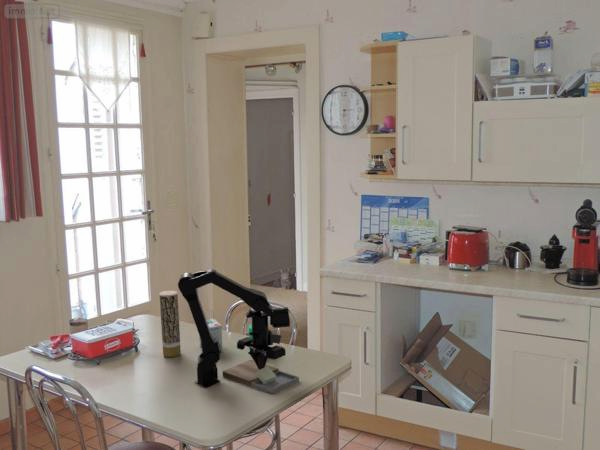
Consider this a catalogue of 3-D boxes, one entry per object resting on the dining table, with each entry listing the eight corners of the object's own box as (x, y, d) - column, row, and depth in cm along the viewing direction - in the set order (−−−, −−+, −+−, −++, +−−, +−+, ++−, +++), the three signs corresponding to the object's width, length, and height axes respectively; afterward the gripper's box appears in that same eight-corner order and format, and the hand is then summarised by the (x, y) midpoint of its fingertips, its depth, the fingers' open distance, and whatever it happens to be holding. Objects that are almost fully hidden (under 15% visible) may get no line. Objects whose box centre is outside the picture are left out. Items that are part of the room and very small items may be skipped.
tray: (271, 394, 207) (271, 389, 207) (251, 386, 214) (250, 382, 214) (299, 381, 217) (298, 377, 217) (278, 374, 224) (278, 370, 224)
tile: (264, 384, 214) (265, 380, 214) (255, 374, 217) (257, 370, 216) (274, 380, 218) (276, 376, 217) (266, 370, 221) (267, 366, 220)
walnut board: (250, 386, 214) (249, 381, 214) (222, 376, 223) (222, 371, 223) (278, 373, 224) (278, 368, 224) (251, 364, 233) (250, 359, 233)
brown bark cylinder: (176, 358, 242) (173, 295, 238) (160, 357, 243) (156, 294, 239) (183, 352, 248) (180, 290, 244) (167, 351, 250) (163, 290, 246)
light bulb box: (199, 346, 255) (198, 320, 253) (215, 343, 258) (214, 318, 256) (206, 354, 245) (205, 327, 243) (223, 351, 248) (222, 325, 246)
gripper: (295, 327, 217) (296, 370, 219) (257, 317, 229) (259, 358, 232) (273, 336, 209) (274, 380, 211) (235, 325, 221) (236, 367, 223)
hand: (261, 371), depth 220 cm, fingers closed
